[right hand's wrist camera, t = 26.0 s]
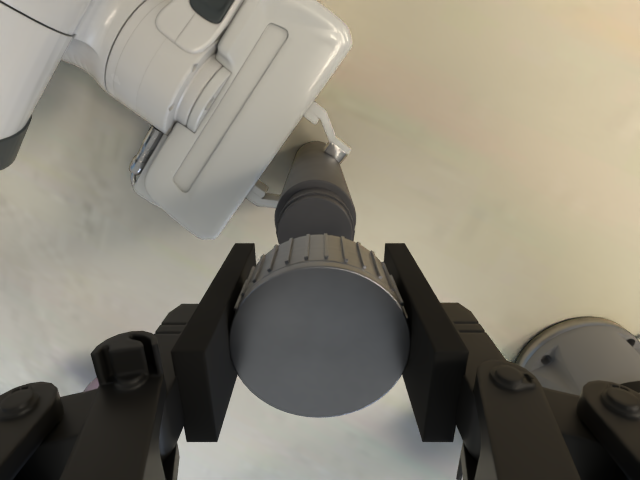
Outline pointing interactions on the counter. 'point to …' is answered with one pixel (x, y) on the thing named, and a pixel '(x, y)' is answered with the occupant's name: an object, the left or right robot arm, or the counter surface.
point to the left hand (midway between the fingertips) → (324, 183)
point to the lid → (319, 328)
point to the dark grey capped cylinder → (314, 197)
